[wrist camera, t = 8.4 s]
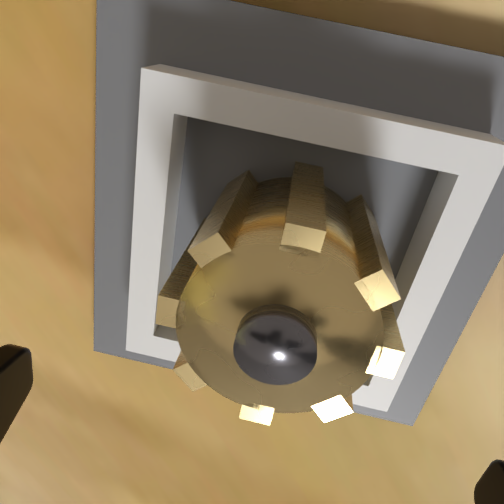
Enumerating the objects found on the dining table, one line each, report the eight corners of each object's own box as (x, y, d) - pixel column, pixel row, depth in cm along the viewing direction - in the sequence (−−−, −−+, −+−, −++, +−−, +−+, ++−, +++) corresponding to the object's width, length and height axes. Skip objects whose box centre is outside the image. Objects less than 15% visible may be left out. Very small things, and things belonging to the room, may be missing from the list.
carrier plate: (580, 73, 12) (635, 81, 10) (408, 411, 19) (420, 459, 17) (108, -24, 13) (67, -35, 11) (101, 339, 19) (75, 376, 17)
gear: (405, 184, 14) (456, 272, 9) (349, 336, 16) (363, 466, 12) (214, 144, 14) (157, 205, 9) (192, 300, 17) (141, 413, 12)
